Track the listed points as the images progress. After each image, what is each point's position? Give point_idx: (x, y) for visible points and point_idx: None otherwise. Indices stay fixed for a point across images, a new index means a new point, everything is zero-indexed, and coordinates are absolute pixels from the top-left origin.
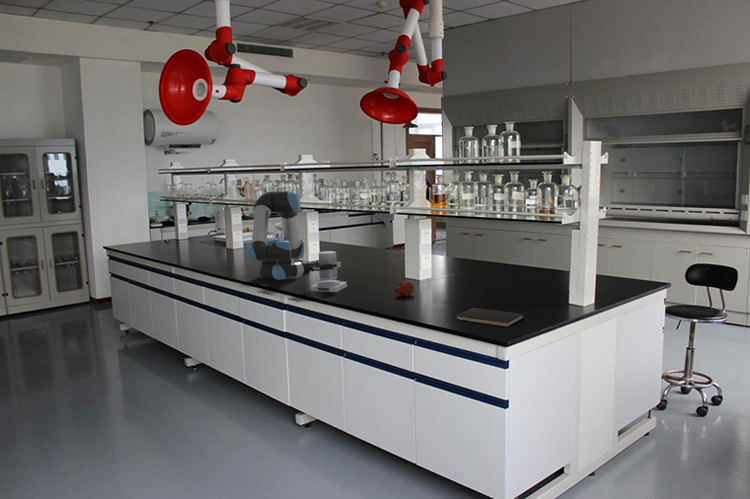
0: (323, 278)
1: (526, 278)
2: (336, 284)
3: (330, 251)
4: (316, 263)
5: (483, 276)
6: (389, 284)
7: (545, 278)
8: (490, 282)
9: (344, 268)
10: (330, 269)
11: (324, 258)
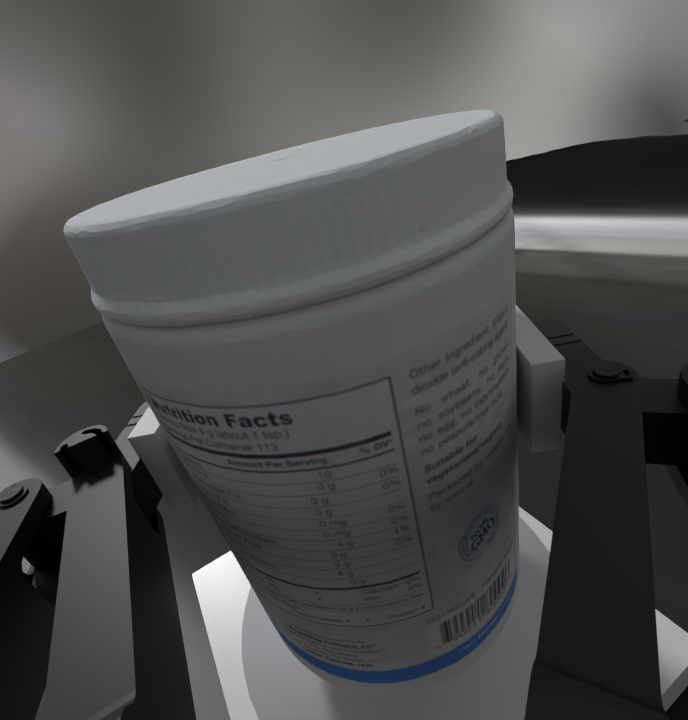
0: (446, 675)
1: (651, 153)
2: None
3: (256, 158)
4: (136, 528)
5: (564, 183)
6: (535, 309)
7: (670, 142)
8: (679, 174)
9: (74, 344)
10: (517, 466)
11: (449, 314)
